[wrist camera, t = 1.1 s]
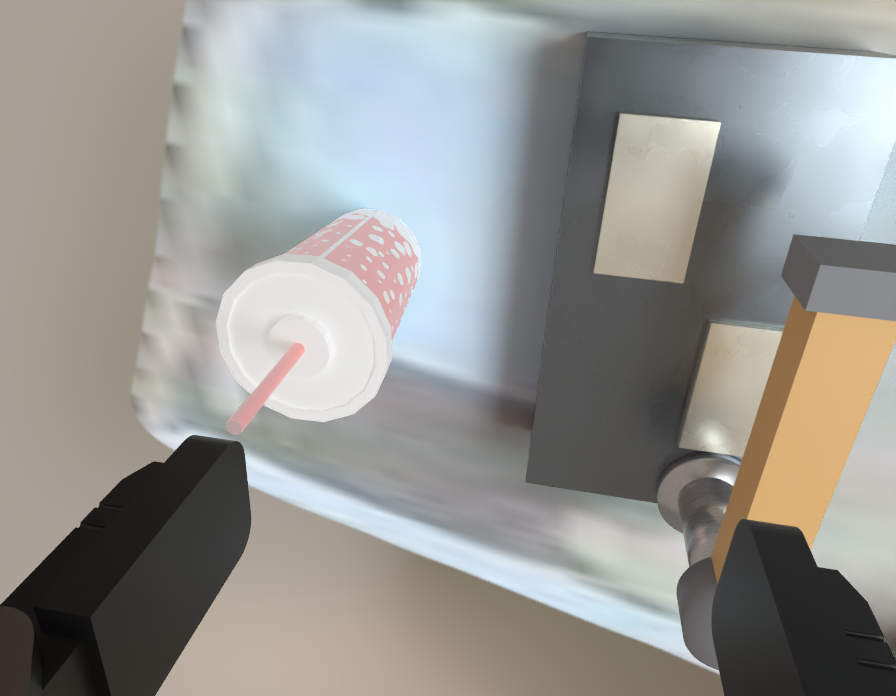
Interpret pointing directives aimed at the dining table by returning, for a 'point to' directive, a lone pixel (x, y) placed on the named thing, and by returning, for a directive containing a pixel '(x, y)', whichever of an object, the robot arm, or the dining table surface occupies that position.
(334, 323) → the beverage cup
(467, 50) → the dining table surface
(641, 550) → the dining table surface
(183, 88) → the dining table surface
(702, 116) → the grey rectangular block
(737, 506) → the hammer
